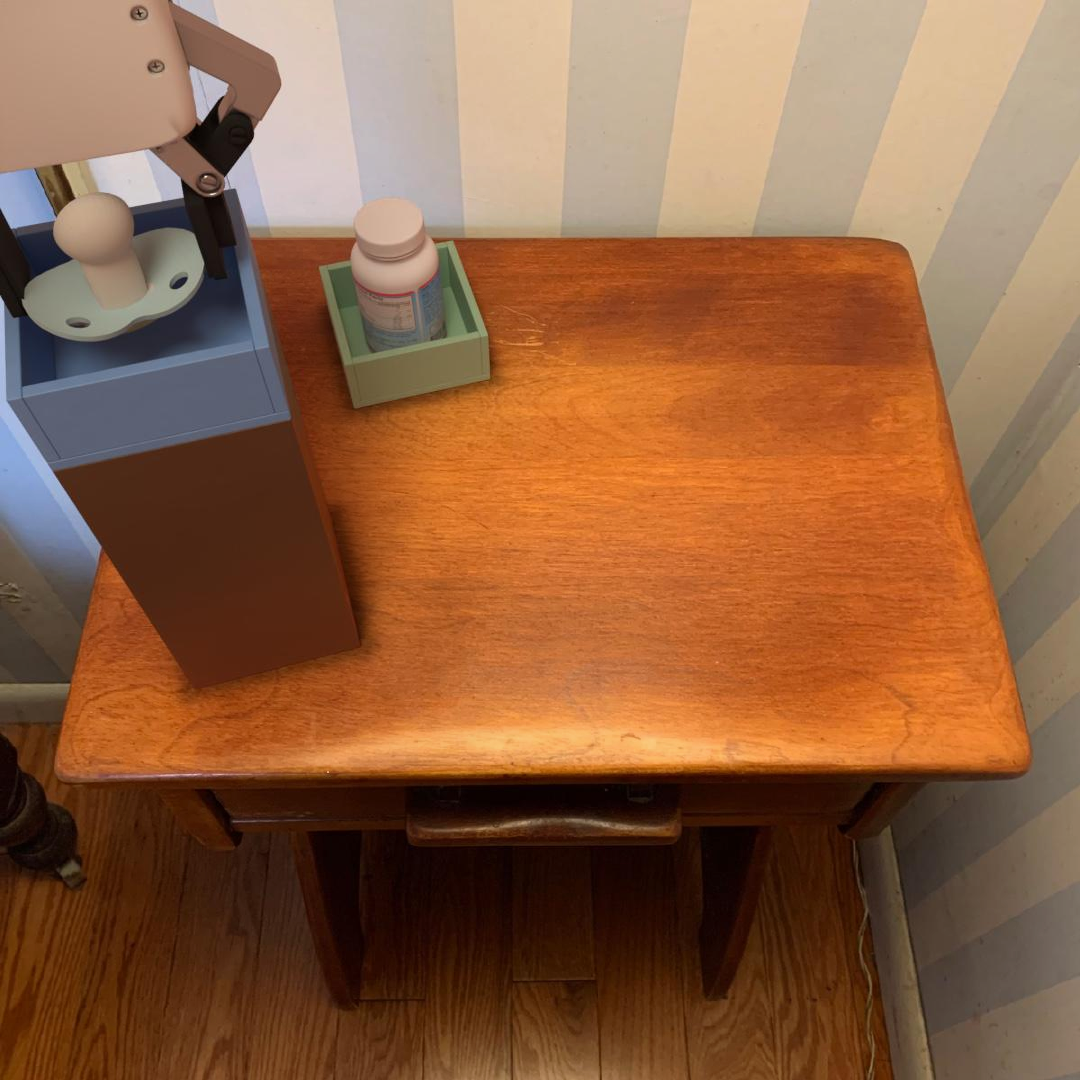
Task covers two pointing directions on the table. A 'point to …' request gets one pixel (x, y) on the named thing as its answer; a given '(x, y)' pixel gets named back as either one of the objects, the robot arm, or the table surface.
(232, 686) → the table surface
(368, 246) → the pill bottle
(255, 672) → the blue bin
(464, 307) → the green bin
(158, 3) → the robot arm
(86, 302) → the pacifier
